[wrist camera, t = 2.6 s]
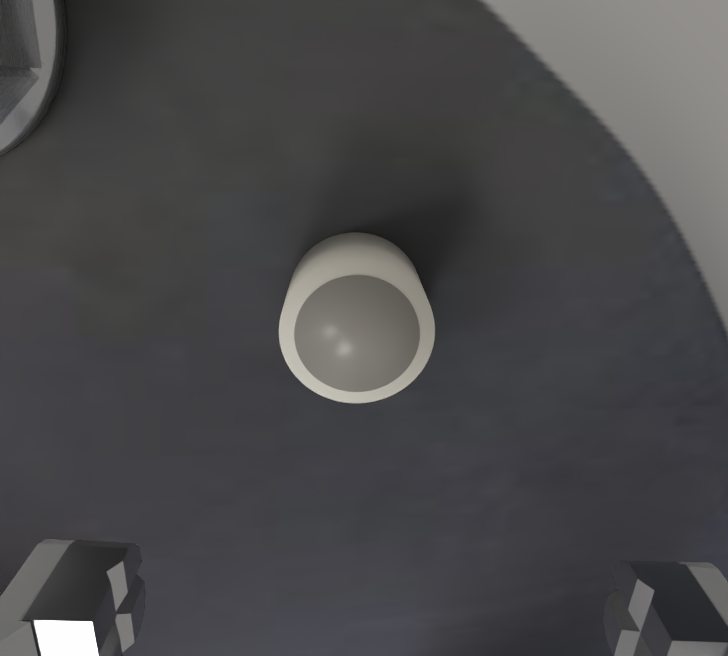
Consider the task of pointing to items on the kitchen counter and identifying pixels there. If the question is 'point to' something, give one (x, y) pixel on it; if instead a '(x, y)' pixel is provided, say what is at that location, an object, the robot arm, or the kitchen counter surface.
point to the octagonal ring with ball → (29, 65)
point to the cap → (356, 319)
